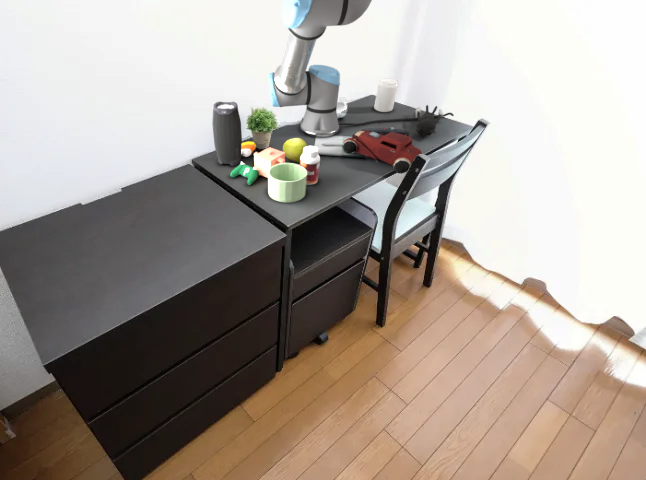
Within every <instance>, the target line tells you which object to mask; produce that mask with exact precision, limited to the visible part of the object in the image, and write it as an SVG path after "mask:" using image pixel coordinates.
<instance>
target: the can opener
mask: <svg viewBox="0 0 646 480" xmlns="http://www.w3.org/2000/svg"><path fill="white" fill-rule="evenodd" d="M362 130H364V131H369V132H371V133H372V132H375V133H378V134H379V135H384V136H385V135H387V134H388V133H390V132H394V133H399V134H403V135H406V136H409V135H410V131H409V129H406V128H401V127H397V128H395V127H370V128H369V127H367V128H362V129H361V130H360V131H362ZM409 137H410V136H409Z"/></svg>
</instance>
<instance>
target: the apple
mask: <svg viewBox="0 0 646 480" xmlns="http://www.w3.org/2000/svg"><path fill="white" fill-rule="evenodd" d="M306 146H308V144H307V142H306V140H304V139H302V138H301V137H293V138H290V139H287V140H286V141H285V142H284V143H283V146H282V152H285V158H287V159H288V160H289V161H291V162H293V163H300V157H301V155H302V154H303V149H304V147H306Z"/></svg>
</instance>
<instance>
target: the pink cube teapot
mask: <svg viewBox="0 0 646 480" xmlns="http://www.w3.org/2000/svg"><path fill="white" fill-rule="evenodd" d="M253 162H254V163H253V164H254V166H253V167H255V168H257V169H258V170H259V173H258V176H261V177H265V178H267V179H268V170H269V169H270V168H271V167H272V166H274V165H276V164H280V163H286V156H285V152H283V150H279V149H276V148H273V147H267V148H265V149H263V150H261V151H260V152H258V151H255V152H254V153H253Z"/></svg>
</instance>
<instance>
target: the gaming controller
mask: <svg viewBox="0 0 646 480" xmlns="http://www.w3.org/2000/svg"><path fill="white" fill-rule="evenodd" d="M258 173H259V170H258V169H257V168H255V166H251V165H248V164H246V163H244V162H243V161H240V163H239V164H238V165H237V166H235V167H234V168H233V169H232V171H231V172H230V174H229V176H230V177H231V178H236V177H238V176H239V175H240V176H242V177H244V178H247V181H246V185H248V186H250V185H253V183H255V181H256V180H257V179H258V177H259V174H258Z"/></svg>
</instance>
